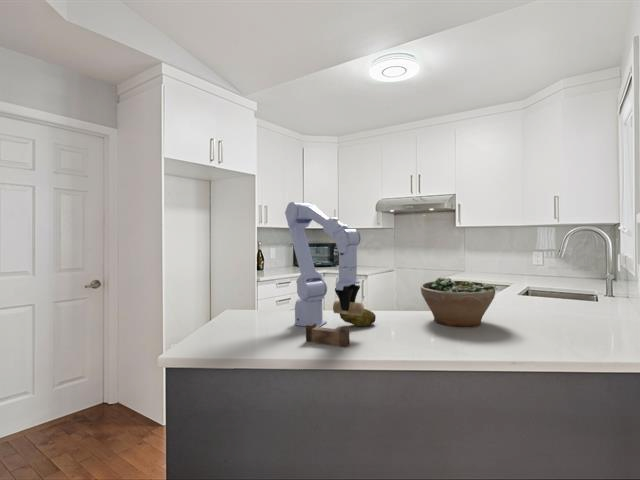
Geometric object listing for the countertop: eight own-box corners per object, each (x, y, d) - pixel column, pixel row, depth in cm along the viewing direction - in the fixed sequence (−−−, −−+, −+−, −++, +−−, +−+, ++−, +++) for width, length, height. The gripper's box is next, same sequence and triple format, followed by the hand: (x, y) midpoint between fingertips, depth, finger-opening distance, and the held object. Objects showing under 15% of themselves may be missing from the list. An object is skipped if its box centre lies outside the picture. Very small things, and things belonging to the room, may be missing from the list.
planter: (511, 328, 125) (512, 284, 125) (445, 334, 119) (445, 288, 119) (464, 311, 150) (464, 275, 150) (407, 315, 144) (407, 277, 143)
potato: (375, 329, 126) (375, 305, 126) (337, 328, 128) (337, 304, 127) (375, 322, 134) (375, 300, 134) (339, 321, 136) (339, 300, 136)
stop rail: (306, 341, 113) (305, 325, 113) (310, 338, 116) (310, 322, 115) (346, 347, 108) (345, 329, 107) (349, 344, 110) (349, 327, 110)
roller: (332, 313, 120) (333, 301, 120) (337, 312, 123) (337, 299, 123) (359, 316, 116) (359, 303, 116) (363, 314, 119) (363, 302, 119)
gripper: (351, 270, 111) (351, 315, 111) (366, 265, 124) (366, 305, 124) (329, 268, 114) (329, 312, 114) (347, 264, 127) (347, 303, 127)
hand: (347, 309), depth 120 cm, fingers closed on roller, 4 cm apart
